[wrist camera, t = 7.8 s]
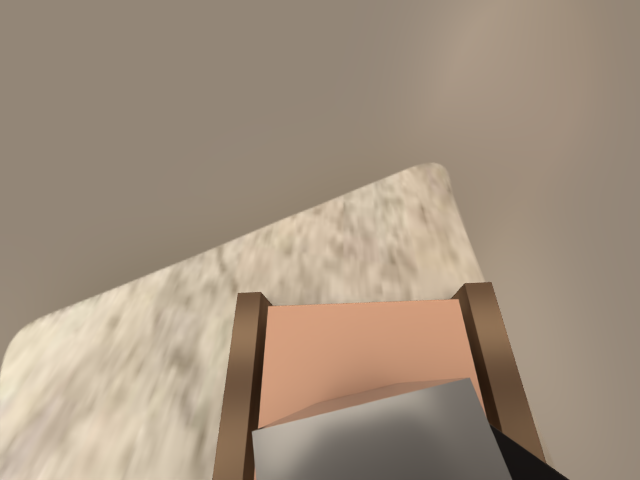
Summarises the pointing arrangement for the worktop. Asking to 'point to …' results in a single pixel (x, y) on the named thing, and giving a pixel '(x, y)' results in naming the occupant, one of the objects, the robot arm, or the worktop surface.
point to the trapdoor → (358, 351)
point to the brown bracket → (486, 348)
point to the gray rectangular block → (384, 437)
